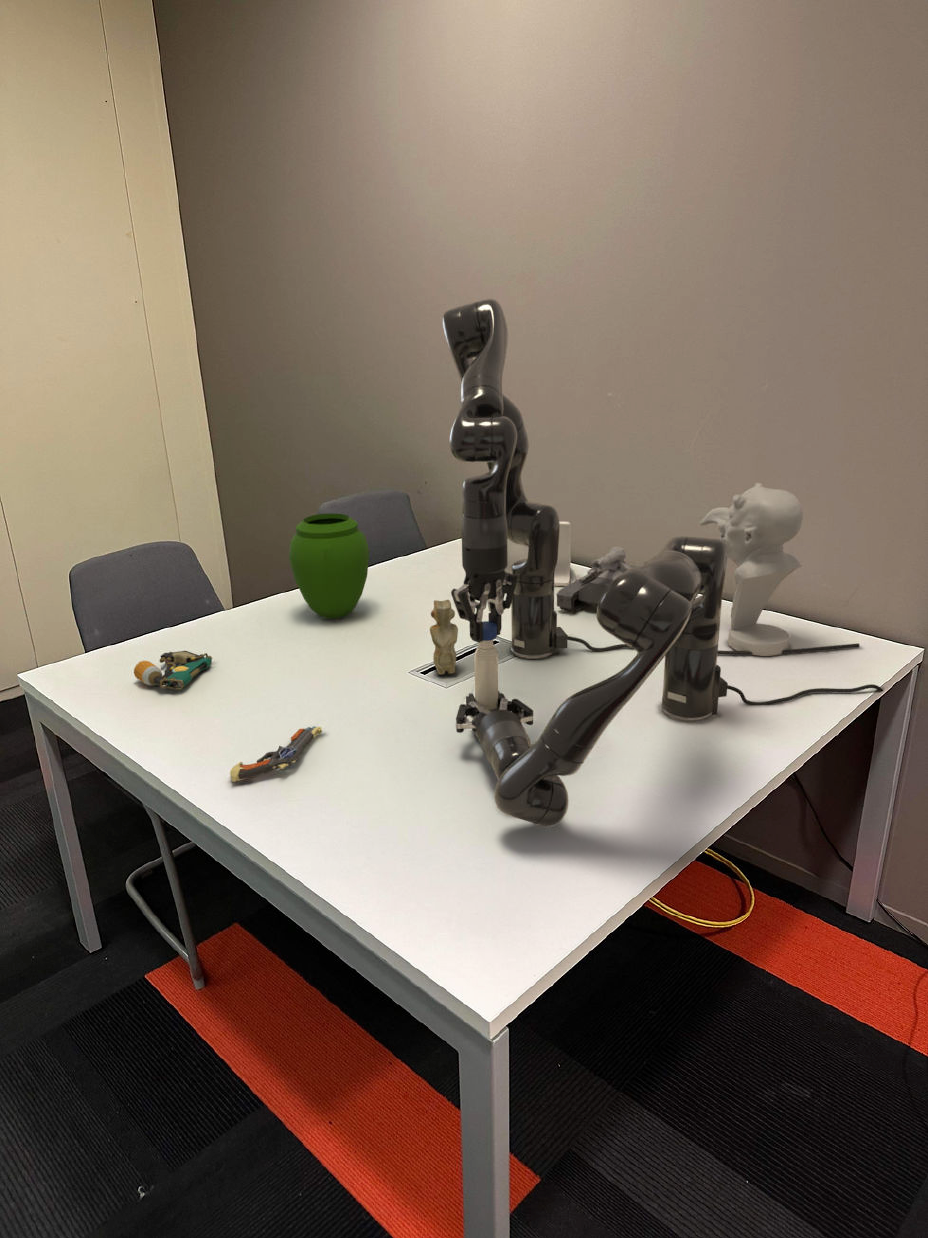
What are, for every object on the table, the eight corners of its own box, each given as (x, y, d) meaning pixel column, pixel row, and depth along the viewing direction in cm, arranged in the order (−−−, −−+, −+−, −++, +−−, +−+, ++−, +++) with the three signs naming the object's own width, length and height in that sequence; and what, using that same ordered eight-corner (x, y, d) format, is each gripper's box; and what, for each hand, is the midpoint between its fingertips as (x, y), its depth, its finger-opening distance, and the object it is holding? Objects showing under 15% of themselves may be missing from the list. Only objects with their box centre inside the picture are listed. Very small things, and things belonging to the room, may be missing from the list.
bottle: (479, 741, 150) (478, 635, 143) (472, 731, 154) (470, 627, 147) (501, 738, 152) (501, 632, 144) (494, 727, 155) (493, 624, 148)
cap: (480, 642, 144) (480, 630, 143) (471, 634, 147) (470, 623, 146) (500, 638, 145) (500, 626, 145) (490, 631, 149) (490, 619, 148)
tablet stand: (569, 585, 229) (570, 524, 223) (476, 584, 232) (475, 523, 226) (570, 566, 246) (571, 508, 240) (484, 564, 249) (483, 507, 243)
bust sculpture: (728, 615, 205) (741, 470, 193) (809, 647, 185) (829, 488, 173) (677, 628, 198) (686, 478, 186) (755, 663, 178) (772, 498, 166)
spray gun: (177, 659, 191) (231, 671, 185) (120, 684, 176) (176, 698, 171) (176, 641, 190) (230, 653, 184) (118, 665, 175) (174, 678, 169)
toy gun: (224, 771, 138) (281, 769, 136) (271, 724, 156) (322, 721, 154) (228, 786, 139) (285, 784, 137) (273, 737, 157) (324, 735, 155)
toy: (603, 584, 229) (605, 530, 224) (673, 597, 218) (677, 540, 213) (555, 612, 210) (556, 553, 205) (630, 627, 199) (633, 566, 194)
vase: (389, 608, 216) (383, 514, 208) (339, 633, 201) (330, 533, 192) (330, 596, 226) (322, 506, 218) (278, 619, 211) (267, 523, 202)
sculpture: (458, 662, 183) (456, 596, 178) (460, 676, 176) (457, 608, 171) (431, 663, 183) (428, 597, 177) (431, 677, 176) (428, 609, 171)
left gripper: (498, 528, 147) (499, 621, 153) (437, 544, 138) (440, 643, 144) (530, 536, 142) (530, 632, 148) (469, 553, 133) (470, 655, 139)
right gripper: (548, 716, 137) (521, 673, 153) (461, 726, 135) (443, 681, 151) (547, 757, 140) (521, 711, 156) (462, 767, 138) (444, 719, 153)
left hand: (485, 637), depth 146 cm, fingers closed on cap, 3 cm apart
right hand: (483, 697), depth 153 cm, fingers closed on bottle, 4 cm apart
